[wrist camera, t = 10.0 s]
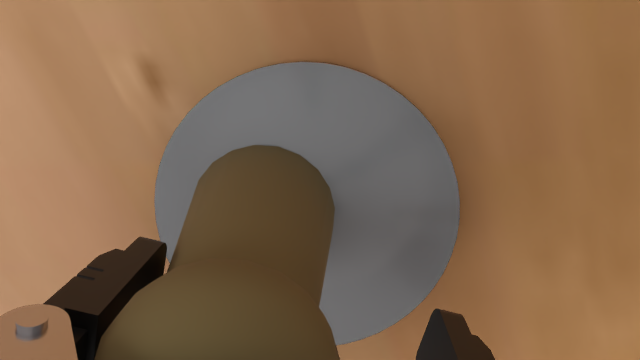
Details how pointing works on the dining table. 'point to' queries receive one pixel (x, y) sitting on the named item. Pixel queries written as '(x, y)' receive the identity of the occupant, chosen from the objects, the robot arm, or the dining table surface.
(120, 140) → the dining table surface
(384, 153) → the slate coaster
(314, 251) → the cork
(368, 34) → the dining table surface
